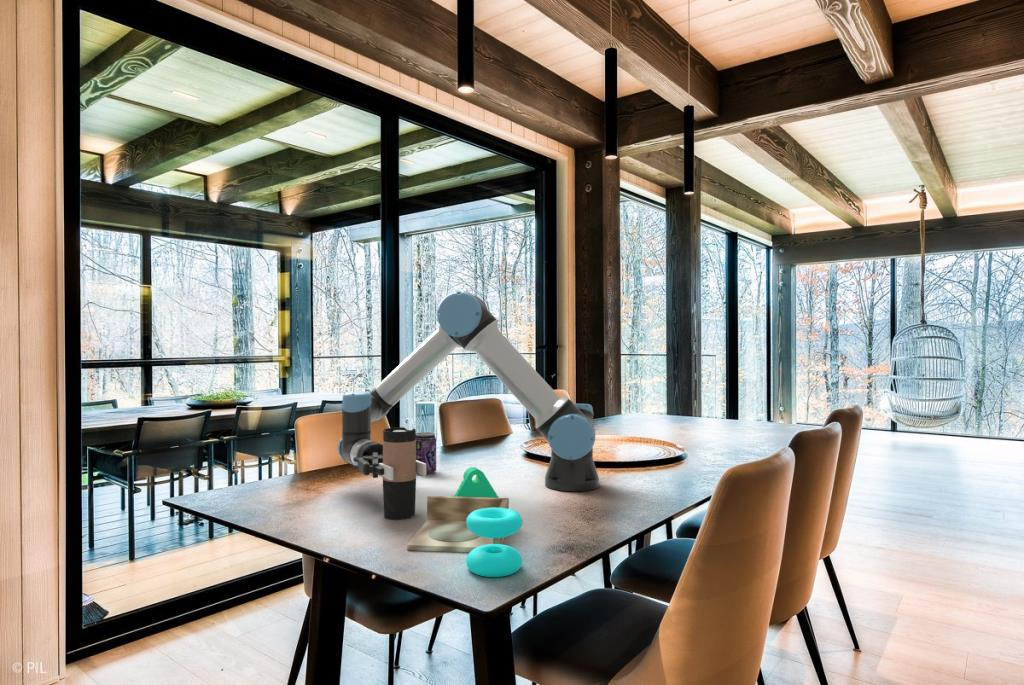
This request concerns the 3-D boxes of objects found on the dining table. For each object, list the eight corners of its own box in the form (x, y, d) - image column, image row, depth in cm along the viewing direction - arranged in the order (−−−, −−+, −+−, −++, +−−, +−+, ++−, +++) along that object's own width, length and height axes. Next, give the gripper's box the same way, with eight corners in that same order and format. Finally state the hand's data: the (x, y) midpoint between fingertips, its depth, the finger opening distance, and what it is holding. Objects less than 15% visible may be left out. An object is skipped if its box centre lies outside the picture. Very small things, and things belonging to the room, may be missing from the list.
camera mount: (488, 502, 156) (488, 461, 156) (499, 510, 149) (500, 467, 149) (442, 507, 151) (442, 465, 151) (452, 515, 144) (452, 471, 144)
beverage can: (420, 476, 185) (420, 436, 185) (408, 472, 190) (408, 433, 190) (440, 473, 189) (440, 434, 189) (428, 469, 195) (428, 431, 195)
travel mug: (384, 521, 139) (384, 432, 139) (381, 512, 146) (381, 427, 146) (418, 518, 141) (418, 431, 141) (413, 509, 148) (414, 426, 148)
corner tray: (508, 525, 136) (508, 498, 136) (499, 553, 118) (499, 522, 118) (428, 522, 138) (428, 495, 138) (407, 550, 120) (407, 519, 120)
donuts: (458, 518, 107) (476, 504, 116) (458, 576, 107) (476, 557, 116) (514, 523, 104) (528, 507, 114) (514, 582, 104) (527, 562, 114)
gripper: (406, 466, 164) (448, 482, 145) (330, 475, 152) (365, 494, 134) (406, 437, 164) (448, 450, 145) (330, 445, 152) (365, 460, 134)
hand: (408, 471), depth 139 cm, fingers closed on travel mug, 7 cm apart
